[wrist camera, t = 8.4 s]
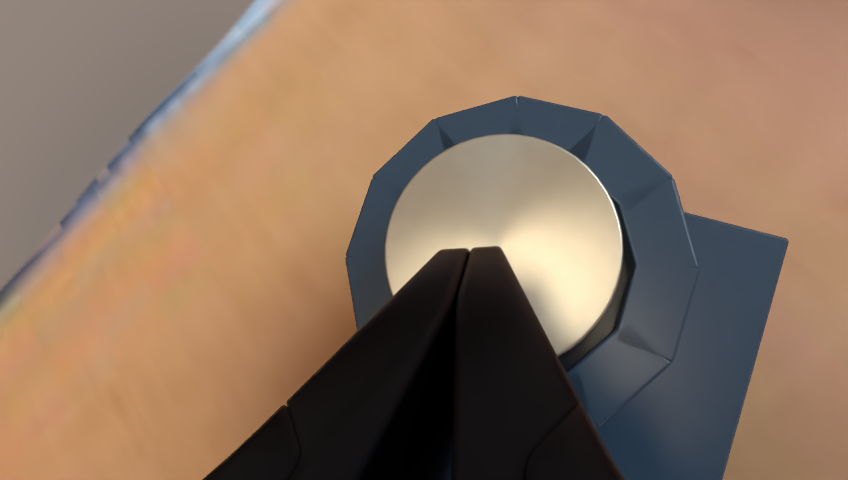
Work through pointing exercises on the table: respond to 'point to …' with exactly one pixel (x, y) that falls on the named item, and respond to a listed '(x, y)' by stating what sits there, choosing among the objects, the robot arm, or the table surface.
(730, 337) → the push button box
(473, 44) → the table surface
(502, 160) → the knob
